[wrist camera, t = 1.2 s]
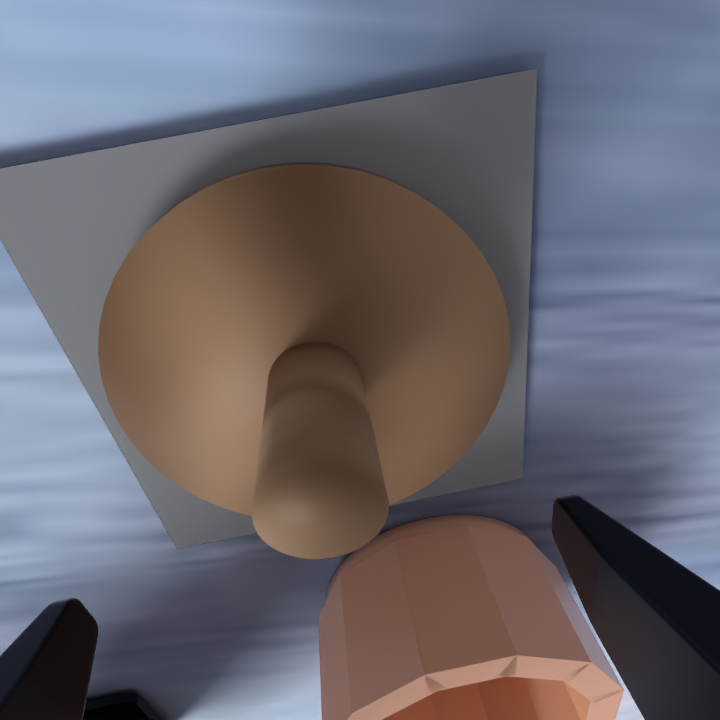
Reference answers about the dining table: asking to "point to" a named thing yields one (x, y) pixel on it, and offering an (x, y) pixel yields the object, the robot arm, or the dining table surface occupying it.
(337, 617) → the bowl
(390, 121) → the mat
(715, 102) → the dining table surface
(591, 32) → the dining table surface
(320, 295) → the lid
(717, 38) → the dining table surface
